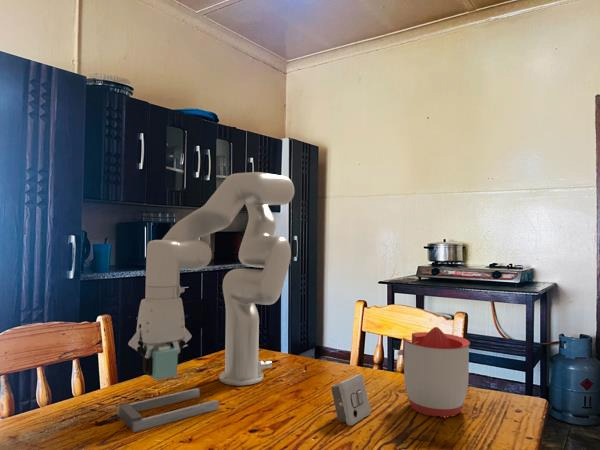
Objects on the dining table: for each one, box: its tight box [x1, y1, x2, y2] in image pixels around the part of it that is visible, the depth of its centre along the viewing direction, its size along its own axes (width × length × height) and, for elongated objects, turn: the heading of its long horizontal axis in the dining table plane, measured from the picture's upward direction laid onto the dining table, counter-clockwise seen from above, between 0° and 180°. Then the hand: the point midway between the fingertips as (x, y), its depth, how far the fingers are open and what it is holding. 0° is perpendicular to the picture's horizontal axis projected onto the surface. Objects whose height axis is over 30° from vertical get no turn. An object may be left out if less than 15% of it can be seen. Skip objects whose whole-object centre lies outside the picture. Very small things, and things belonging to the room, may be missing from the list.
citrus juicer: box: [396, 326, 471, 418], centre depth 110 cm, size 16×17×20 cm
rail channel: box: [117, 387, 219, 433], centre depth 105 cm, size 20×11×2 cm, turn 129°
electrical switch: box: [330, 373, 372, 426], centre depth 104 cm, size 9×5×9 cm, turn 141°
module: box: [149, 343, 179, 381], centre depth 104 cm, size 5×7×7 cm
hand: (160, 371), depth 104 cm, fingers closed on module, 5 cm apart
